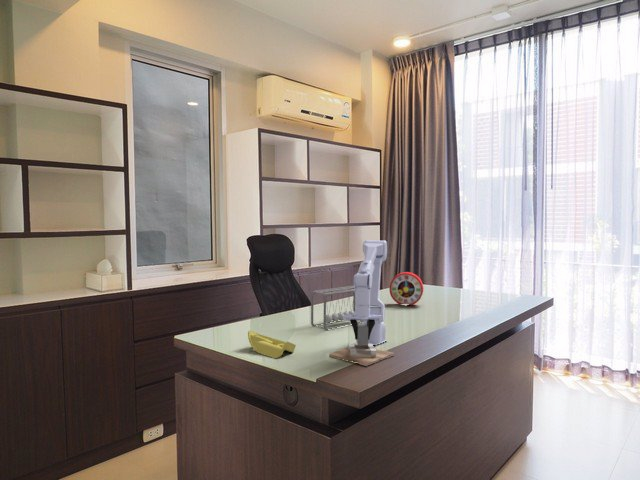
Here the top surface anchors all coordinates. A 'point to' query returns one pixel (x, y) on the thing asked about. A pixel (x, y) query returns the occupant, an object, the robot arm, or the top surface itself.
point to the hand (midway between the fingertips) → (362, 339)
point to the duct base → (360, 359)
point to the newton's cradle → (334, 316)
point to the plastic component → (269, 345)
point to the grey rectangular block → (362, 334)
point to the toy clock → (406, 288)
